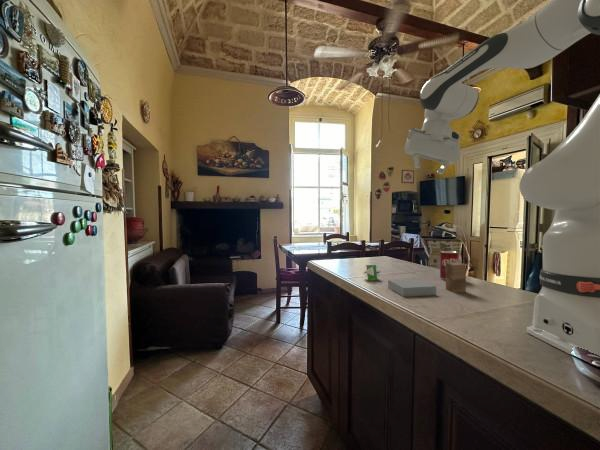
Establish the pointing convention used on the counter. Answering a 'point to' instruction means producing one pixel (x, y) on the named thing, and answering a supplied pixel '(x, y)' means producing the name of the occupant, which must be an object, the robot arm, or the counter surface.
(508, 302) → the counter surface
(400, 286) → the slab
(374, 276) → the geometric puzzle
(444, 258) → the soda can
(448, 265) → the pillar
